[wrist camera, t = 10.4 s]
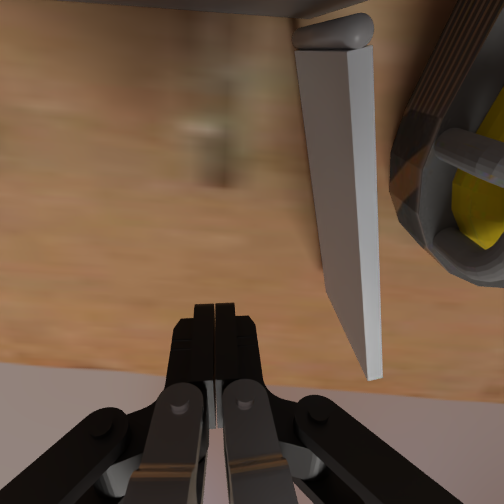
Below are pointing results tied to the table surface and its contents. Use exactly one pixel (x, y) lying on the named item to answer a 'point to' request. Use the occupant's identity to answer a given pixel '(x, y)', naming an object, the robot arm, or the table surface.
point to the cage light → (457, 148)
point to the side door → (344, 172)
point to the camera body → (243, 6)
